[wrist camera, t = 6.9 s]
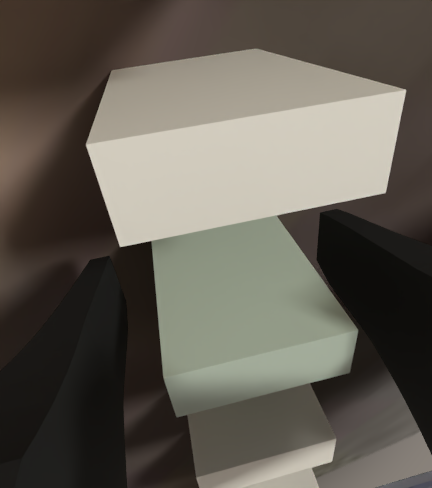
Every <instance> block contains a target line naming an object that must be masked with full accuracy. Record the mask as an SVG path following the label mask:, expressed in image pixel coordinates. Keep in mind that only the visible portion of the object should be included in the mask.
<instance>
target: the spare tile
mask: <svg viewBox="0 0 432 488" xmlns="http://www.w3.org/2000/svg"><path fill="white" fill-rule="evenodd" d="M151 242H152V253H153V265H154V276H155V288H156V299H157V311H158V322H159V333H160V345H161V356H162V368H163V378H164V381H165V384H166V387H167V390H168V393H169V396H170V399H171V402H172V405H173V408H174V411H175V414H176V418H177V417H181V416H185V415H188V414H192V413H196V412H200V411H204V410H208V409H212V408H215V407H219V406H223V405H227V404H231V403H235V402H239V401H243V400H246V399H250V398H254V397H258V396H262V395H266V394H270V393H274V392H277V391H281V390H285V389H289V388H293V387H297V386H301V385H304V384H308V383H312V382H316V381H320V380H324V379H328V378H332V377H335V376H339V375H343V374H347V373H350V369H351V364H352V359H353V354H354V350H355V345H356V340H357V335H358V329H357V328H356V326H355V325H354V323H353V322H352V321H351V319H350V318H349V316H348V315H347V314H346V312H345V311H344V309H343V308H342V307H341V305H340V304H339V302H338V301H337V300H336V298H335V297H334V295H333V294H332V293H331V291H330V290H329V288H328V287H327V286H326V284H325V283H324V282H323V280H322V279H321V277H320V276H319V275H318V273H317V272H316V270H315V269H314V268H313V266H312V265H311V263H310V262H309V261H308V259H307V258H306V256H305V255H304V254H303V252H302V251H301V249H300V248H299V247H298V245H297V244H296V242H295V241H294V240H293V238H292V237H291V236H290V234H289V233H288V231H287V230H286V229H285V227H284V226H283V224H282V223H281V222H280V220H279V219H278V217H277V216H276V215H275V216H271V217H266V218H261V219H256V220H251V221H246V222H241V223H236V224H231V225H227V226H222V227H217V228H212V229H207V230H202V231H197V232H192V233H187V234H183V235H178V236H173V237H168V238H163V239H158V240H153V241H151Z"/></svg>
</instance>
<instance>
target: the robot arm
mask: <svg viewBox="0 0 432 488" xmlns="http://www.w3.org/2000/svg"><path fill="white" fill-rule="evenodd" d="M317 261H318V263H319V265H320V267H321V269H322V271H323V273H324V275H325V277H326V278H327V280H328V282H329V284H330V285H331V286H332V288H333V289H334V291H335V292H336V293H337V295H338V296H339V297H340V299H341V300H342V301H343V303H344V304H345V305H346V307H347V308H348V310H349V311H350V312H351V314H352V315H353V316H354V318H355V319H356V320H357V322H358V323H359V324H360V326H361V327H362V328H363V330H364V331H365V332H366V334H367V335H368V337H369V338H370V340H371V341H372V343H373V344H374V346H375V348H376V350H377V351H378V353H379V355H380V356H381V358H382V360H383V361H384V363H385V365H386V367H387V368H388V370H389V372H390V374H391V376H392V377H393V379H394V381H395V383H396V385H397V386H398V388H399V390H400V392H401V394H402V396H403V398H404V399H405V401H406V403H407V405H408V407H409V409H410V411H411V413H412V415H413V417H414V419H415V421H416V423H417V425H418V427H419V429H420V431H421V433H422V435H423V437H424V439H425V442H426V444H427V446H428V448H429V450H430V452H431V454H432V246H431V245H428V244H425V243H422V242H420V241H417V240H414V239H411V238H408V237H406V236H403V235H401V234H398V233H395V232H393V231H390V230H388V229H386V228H383V227H381V226H378V225H376V224H374V223H371V222H369V221H366V220H364V219H362V218H359V217H357V216H354V215H352V214H349V213H347V212H344V211H341V210H338V209H335V210H330V211H326V212H321V213H320V222H319V235H318V248H317ZM127 335H128V322H127V307H126V300H125V297H124V294H123V292H122V289H121V286H120V283H119V281H118V278H117V275H116V272H115V270H114V267H113V264H112V261H111V259H110V256H107V257H102V258H97V259H92V260H90V261H89V263H88V264H87V266H86V267H85V268H84V270H83V271H82V273H81V274H80V276H79V277H78V279H77V280H76V282H75V283H74V285H73V286H72V288H71V289H70V291H69V292H68V293H67V295H66V296H65V298H64V299H63V301H62V302H61V303H60V305H59V306H58V307H57V309H56V310H55V311H54V313H53V314H52V315H51V316H50V318H49V319H48V320H47V321H46V323H45V324H44V325H43V327H42V328H41V329H40V330H39V331H38V333H37V334H36V335H35V336H34V337H33V338H32V339H31V341H30V342H29V343H28V344H27V345H26V346H25V347H24V348H23V349H22V350H21V351H20V352H19V353H18V354H17V355H16V356H15V357H14V358H13V360H12V361H11V362H9V363H8V364H7V365H6V366H5V367H4V368H3V369H2V370H1V371H0V488H127V477H126V459H125V439H124V411H123V398H124V379H125V365H126V351H127ZM376 488H432V471H429V472H426V473H423V474H419V475H416V476H412V477H409V478H406V479H402V480H399V481H396V482H392V483H389V484H386V485H382V486H379V487H376Z"/></svg>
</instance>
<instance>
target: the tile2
mask: <svg viewBox="0 0 432 488" xmlns="http://www.w3.org/2000/svg"><path fill="white" fill-rule="evenodd" d="M405 93H406V90H405V89H401V88H398V87H394V86H391V85H387V84H383V83H380V82H376V81H372V80H369V79H365V78H361V77H358V76H354V75H350V74H347V73H343V72H340V71H336V70H332V69H329V68H325V67H321V66H318V65H314V64H310V63H307V62H303V61H300V60H296V59H292V58H289V57H285V56H281V55H278V54H274V53H270V52H267V51H263V50H260V49H250V50H244V51H237V52H230V53H223V54H217V55H210V56H203V57H197V58H190V59H183V60H177V61H170V62H163V63H157V64H150V65H143V66H137V67H130V68H123V69H117V70H112V71H111V74H110V76H109V79H108V82H107V85H106V88H105V91H104V94H103V97H102V100H101V102H100V105H99V108H98V111H97V114H96V117H95V120H94V123H93V125H92V128H91V131H90V134H89V137H88V140H87V143H86V147H87V150H88V153H89V156H90V159H91V162H92V165H93V168H94V171H95V174H96V177H97V180H98V182H99V185H100V188H101V191H102V194H103V197H104V200H105V203H106V206H107V209H108V212H109V215H110V218H111V221H112V224H113V227H114V230H115V233H116V236H117V239H118V242H119V245H120V247H124V246H129V245H134V244H138V243H143V242H148V241H153V240H158V239H163V238H168V237H173V236H178V235H183V234H187V233H192V232H197V231H202V230H207V229H212V228H217V227H222V226H227V225H231V224H236V223H241V222H246V221H251V220H256V219H261V218H266V217H271V216H275V215H280V214H285V213H290V212H295V211H300V210H305V209H310V208H315V207H320V206H324V205H329V204H334V203H339V202H344V201H349V200H354V199H359V198H364V197H368V196H373V195H378V194H383V193H386V189H387V184H388V179H389V174H390V169H391V164H392V159H393V154H394V149H395V144H396V139H397V133H398V128H399V123H400V118H401V113H402V108H403V103H404V98H405Z"/></svg>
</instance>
